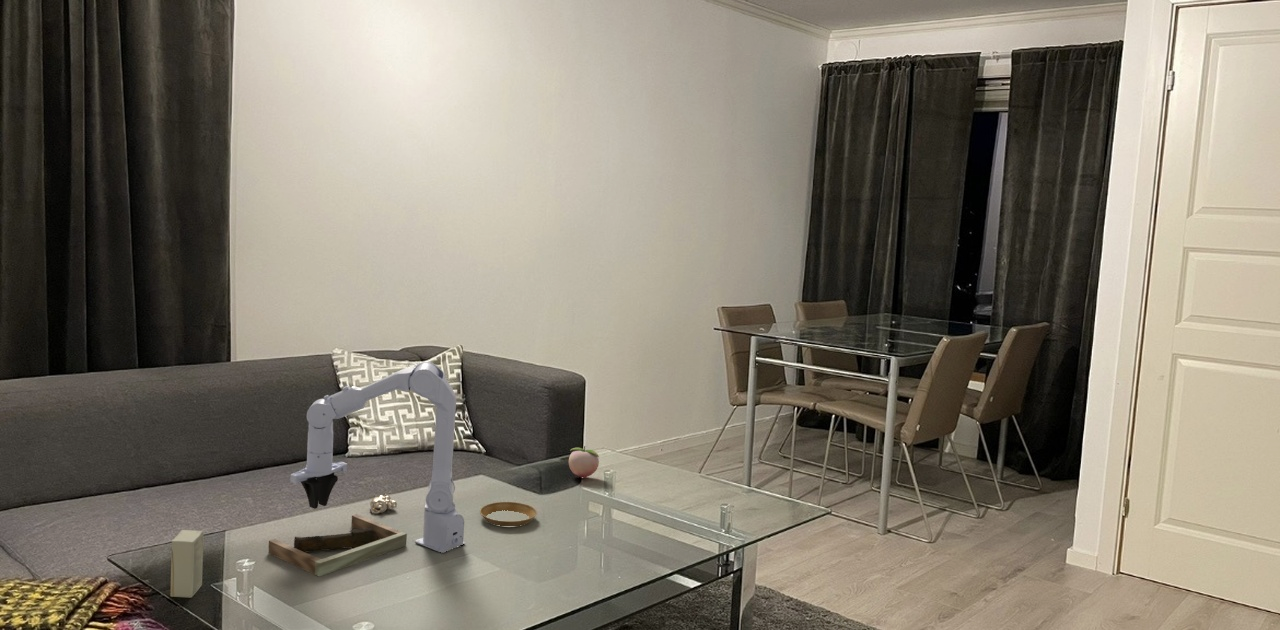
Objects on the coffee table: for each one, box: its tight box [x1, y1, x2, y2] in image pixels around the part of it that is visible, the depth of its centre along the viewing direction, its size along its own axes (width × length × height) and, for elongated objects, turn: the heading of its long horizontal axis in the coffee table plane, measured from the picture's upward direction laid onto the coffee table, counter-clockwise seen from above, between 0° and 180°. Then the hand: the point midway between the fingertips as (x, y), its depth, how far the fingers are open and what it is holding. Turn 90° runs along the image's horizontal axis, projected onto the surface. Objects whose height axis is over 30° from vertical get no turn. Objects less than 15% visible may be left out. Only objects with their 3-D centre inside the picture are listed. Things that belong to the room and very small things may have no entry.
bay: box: [268, 513, 408, 577], centre depth 230 cm, size 18×25×3 cm
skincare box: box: [170, 529, 204, 599], centre depth 202 cm, size 6×4×12 cm
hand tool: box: [293, 528, 380, 553], centre depth 230 cm, size 19×4×5 cm, turn 113°
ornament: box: [369, 493, 398, 515], centre depth 258 cm, size 8×7×4 cm
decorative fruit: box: [568, 445, 600, 478], centre depth 296 cm, size 9×8×10 cm
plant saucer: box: [479, 501, 538, 527], centre depth 258 cm, size 15×15×3 cm
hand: (318, 506), depth 234 cm, fingers open, 2 cm apart
